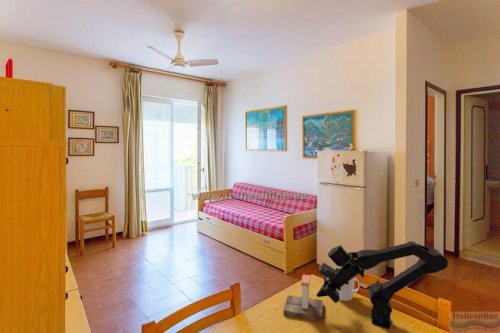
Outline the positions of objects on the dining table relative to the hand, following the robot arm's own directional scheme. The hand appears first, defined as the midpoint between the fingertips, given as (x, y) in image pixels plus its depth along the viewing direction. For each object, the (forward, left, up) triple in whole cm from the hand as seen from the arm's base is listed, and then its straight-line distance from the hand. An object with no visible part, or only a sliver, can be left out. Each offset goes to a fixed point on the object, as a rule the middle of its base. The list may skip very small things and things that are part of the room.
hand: (317, 295), depth 119 cm
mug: (-8, -19, -7) cm, 22 cm away
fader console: (+5, +1, -7) cm, 9 cm away
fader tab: (+5, +1, -5) cm, 7 cm away
